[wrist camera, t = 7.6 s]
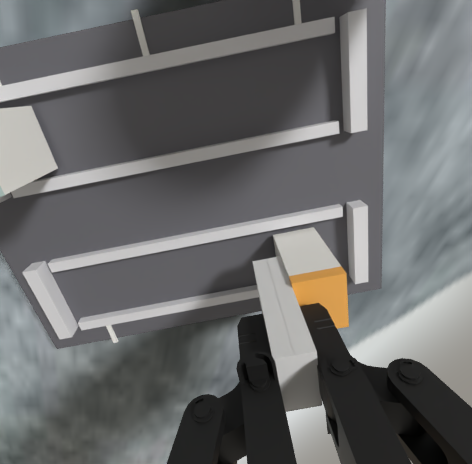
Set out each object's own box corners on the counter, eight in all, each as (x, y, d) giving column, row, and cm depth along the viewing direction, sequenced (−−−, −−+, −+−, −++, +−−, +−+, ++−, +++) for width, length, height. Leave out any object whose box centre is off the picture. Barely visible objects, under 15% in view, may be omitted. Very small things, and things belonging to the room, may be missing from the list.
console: (71, 331, 23) (51, 363, 20) (-70, 64, 16) (-131, 59, 13) (367, 275, 22) (389, 301, 20) (366, -27, 15) (398, -53, 12)
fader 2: (279, 277, 19) (298, 335, 15) (272, 234, 18) (291, 283, 14) (317, 270, 19) (348, 326, 15) (313, 227, 18) (346, 273, 14)
